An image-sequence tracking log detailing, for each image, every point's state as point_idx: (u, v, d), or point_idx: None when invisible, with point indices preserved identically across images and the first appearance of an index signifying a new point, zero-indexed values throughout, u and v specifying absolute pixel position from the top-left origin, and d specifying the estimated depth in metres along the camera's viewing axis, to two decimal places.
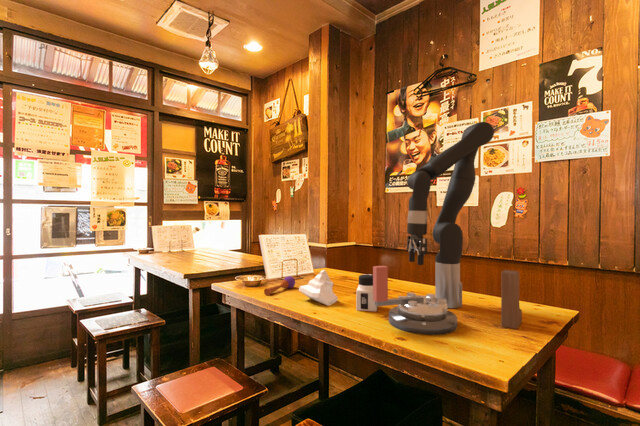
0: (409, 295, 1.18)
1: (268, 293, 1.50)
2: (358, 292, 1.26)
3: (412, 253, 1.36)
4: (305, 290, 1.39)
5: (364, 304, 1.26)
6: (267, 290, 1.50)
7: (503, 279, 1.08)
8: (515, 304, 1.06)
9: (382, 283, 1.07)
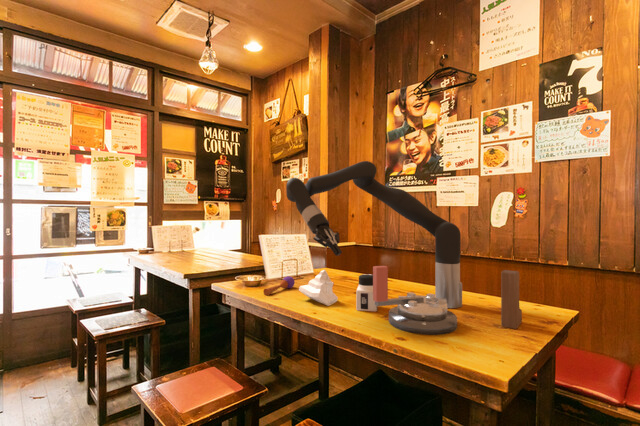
0: (409, 295, 1.18)
1: (267, 293, 1.50)
2: (358, 292, 1.26)
3: None
4: (305, 290, 1.39)
5: (364, 304, 1.26)
6: (266, 290, 1.50)
7: (503, 279, 1.08)
8: (515, 304, 1.06)
9: (382, 283, 1.07)
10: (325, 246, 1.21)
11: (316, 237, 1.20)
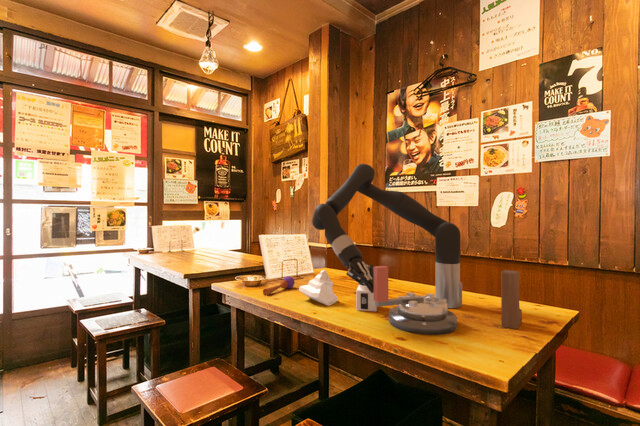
0: (409, 295, 1.18)
1: (267, 293, 1.49)
2: (358, 292, 1.26)
3: None
4: (305, 290, 1.39)
5: (364, 304, 1.26)
6: (266, 290, 1.50)
7: (503, 279, 1.08)
8: (515, 304, 1.06)
9: (383, 283, 1.06)
10: (359, 282, 1.10)
11: (350, 273, 1.09)
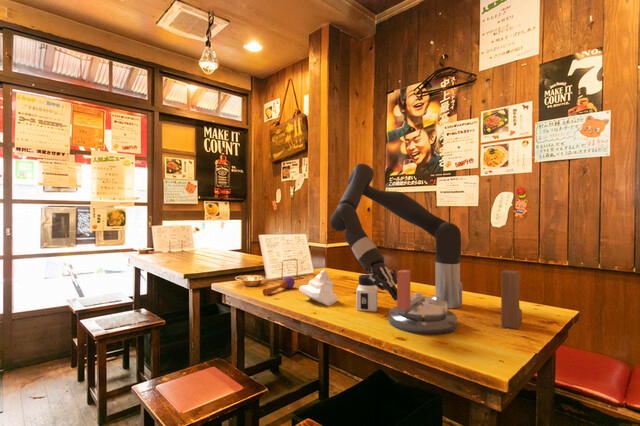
0: None
1: (266, 293, 1.49)
2: (358, 292, 1.26)
3: None
4: (305, 290, 1.39)
5: (364, 304, 1.26)
6: (265, 290, 1.50)
7: (503, 279, 1.08)
8: (515, 304, 1.06)
9: (407, 288, 0.99)
10: (382, 289, 1.02)
11: (372, 278, 1.01)
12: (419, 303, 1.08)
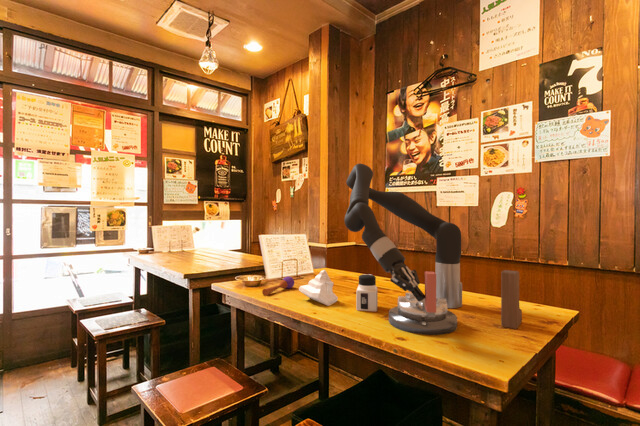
0: (403, 299, 1.12)
1: (266, 293, 1.49)
2: (358, 292, 1.26)
3: None
4: (305, 290, 1.39)
5: (364, 304, 1.26)
6: (265, 290, 1.49)
7: (503, 279, 1.08)
8: (515, 304, 1.06)
9: None
10: (405, 289, 0.99)
11: (394, 279, 0.98)
12: None
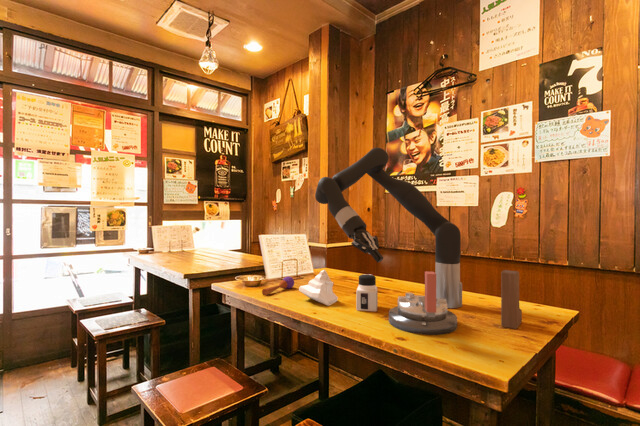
0: (403, 299, 1.12)
1: (266, 293, 1.49)
2: (358, 292, 1.26)
3: None
4: (305, 290, 1.39)
5: (364, 304, 1.26)
6: (265, 290, 1.49)
7: (503, 279, 1.08)
8: (515, 304, 1.06)
9: None
10: (365, 252, 1.09)
11: (355, 242, 1.08)
12: None
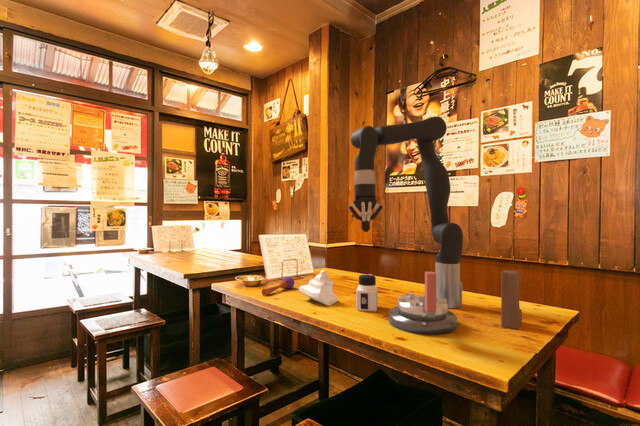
0: (403, 299, 1.12)
1: (266, 293, 1.49)
2: (358, 292, 1.26)
3: None
4: (305, 290, 1.39)
5: (364, 304, 1.26)
6: (265, 290, 1.49)
7: (503, 279, 1.08)
8: (515, 304, 1.06)
9: None
10: (356, 218, 1.20)
11: (349, 208, 1.19)
12: None
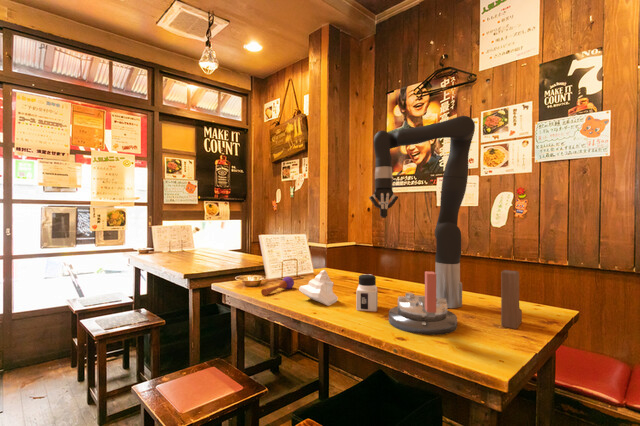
0: (403, 299, 1.12)
1: (265, 293, 1.49)
2: (358, 292, 1.26)
3: None
4: (305, 290, 1.39)
5: (364, 304, 1.26)
6: (264, 290, 1.49)
7: (503, 279, 1.08)
8: (515, 304, 1.06)
9: None
10: (376, 207, 1.45)
11: (370, 198, 1.44)
12: None
